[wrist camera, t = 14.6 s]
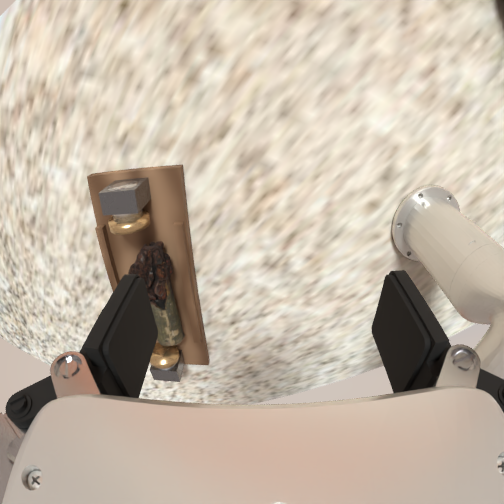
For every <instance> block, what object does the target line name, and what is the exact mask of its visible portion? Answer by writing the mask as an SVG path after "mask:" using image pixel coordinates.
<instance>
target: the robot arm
mask: <svg viewBox="0 0 504 504" xmlns="http://www.w3.org/2000/svg"><path fill="white" fill-rule="evenodd" d="M392 235H393V240H394V243H395V245H396V247H397V248H398V250H399V251H400V252H401V253H402V255H404V256H405V257H406V258H408V259H410V260H414V261H420V262H421V263H422V264H423V266H424V267H425V268H426V270H427V271H428V272H429V273H430V275H431V276H432V277H433V279H434V280H435V281H436V283H437V284H438V285H439V287H440V288H441V289H442V291H443V292H444V294H445V295H446V296H447V298H448V299H449V301H450V302H451V303H452V305H453V306H454V308H455V309H456V310H457V312H458V313H459V314H460V315H461V316H462V317H463V318H465V319H466V320H468V321H470V322H473V323H478V324H491V325H490V327H489V329H488V331H487V332H486V334H485V335H484V336H483V337H482V339H481V341H480V342H479V343H478V344H477V345H476V346H475V348H474V349H472V348H470V347H468V346H465V345H455V346H452V347H451V345H450V343H449V339H448V338H447V336H446V334H445V332H444V331H443V329H442V327H441V326H440V324H439V322H438V321H437V319H436V317H435V316H434V314H433V313H432V311H431V309H430V308H429V306H428V305H427V303H426V301H425V300H424V298H423V297H422V295H421V294H420V292H419V291H418V289H417V288H416V286H415V285H414V283H413V282H412V280H411V279H410V277H409V276H408V274H407V273H406V272H405V271H391V272H390V273H389V275H386V277H385V280H384V284H383V288H382V292H381V296H380V300H379V303H378V307H377V311H376V314H375V318H374V321H373V325H372V334H373V337H374V340H375V342H376V345H377V348H378V350H379V353H380V356H381V358H382V361H383V364H384V367H385V369H386V372H387V375H388V378H389V380H390V383H391V386H392V389H393V392H394V393H393V394H386V395H380V396H372V397H366V398H356V399H348V400H338V401H328V402H314V403H298V404H271V405H228V404H201V403H185V402H172V401H161V400H150V399H140V398H139V395H140V391H141V388H142V385H143V381H144V378H145V375H146V372H147V369H148V365H149V362H150V359H151V356H152V353H153V350H154V347H155V344H156V341H157V337H158V329H157V325H156V322H155V318H154V315H153V311H152V307H151V304H150V300H149V296H148V292H147V288H146V284H145V281H144V279H143V278H140V276H139V275H138V274H125V275H124V276H123V277H122V279H121V280H120V282H119V284H118V285H117V287H116V289H115V290H114V292H113V294H112V295H111V297H110V299H109V301H108V302H107V304H106V306H105V307H104V309H103V310H102V312H101V314H100V315H99V317H98V319H97V321H96V323H95V324H94V326H93V328H92V330H91V332H90V333H89V335H88V337H87V339H86V341H85V343H84V345H83V347H82V349H81V350H80V352H75V351H69V352H65V353H63V354H61V355H59V356H58V357H57V358H56V359H55V360H54V361H53V363H52V364H51V368H50V374H51V376H49V377H47V378H45V379H43V380H41V381H39V382H37V383H35V384H33V385H31V386H29V387H27V388H25V389H23V390H21V391H19V392H17V393H15V394H14V395H12V396H11V397H10V399H9V400H8V402H7V405H6V413H5V414H4V415H3V414H2V413H0V504H504V248H503V247H502V246H501V245H499V244H498V243H497V242H496V241H495V240H494V239H493V238H491V237H490V236H489V235H488V234H487V233H486V232H484V231H483V230H482V229H481V228H480V227H478V226H477V224H476V221H474V220H470V219H468V218H467V217H466V216H465V215H463V214H462V213H461V212H460V209H459V205H458V202H457V200H456V199H455V197H454V196H453V195H452V194H451V193H450V192H449V191H448V190H446V189H444V188H443V187H440V186H435V185H428V186H423V187H421V188H418V189H416V190H415V191H413V192H411V193H410V194H409V195H408V196H407V197H406V198H405V199H404V200H403V201H402V203H401V204H400V206H399V207H398V209H397V211H396V214H395V216H394V220H393V224H392Z"/></svg>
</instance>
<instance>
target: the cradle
mask: <svg viewBox="0 0 504 504" xmlns="http://www.w3.org/2000/svg"><path fill="white" fill-rule="evenodd" d="M146 177H148V179H149V186H150V193H151V199H150V201H149V202H148V203H147V204H146V205H145V206H144V207H143V209H144V210H147V211H148V212H149V217H150V224H149V226H147V227H146V228H145V229H143V230H141V231H138V232H136V233H132V234H127V235H116V234H113V233H111V232H110V228H109V224H108V220H109V219H110V218H111V217H112V216H113V215H103V213H102V208H101V203H100V198H99V192H101V191H102V190H103V189H104V188H106V187H107V186H108V185H110V184H111V183H112V182H114V181H115V180H124V179H135V178H146ZM87 179H88V184H89V189H90V195H91V200H92V204H93V209H94V214H95V218H96V222H97V227H96V228H95V229H96V233H97V237H98V241H99V245H100V249H101V252H102V256H103V260H104V263H105V267H106V270H107V274H108V277H109V280H110V283H111V287H112V290H113V292H114V290H115V289H116V287H117V285H118V284H119V282H120V280H121V279H122V277H123V276H124V275H125V274H128V272H129V269H130V266H131V265H132V264H134V263H135V261H136V258H137V255H138V253H139V251H140V249H141V248H142V247H143V246H144V244H146V245H147V246H149V244H150V242H155V243H156V242H157V241H162V242H163V243H164V247H163V251H164V253H167V254H168V255H169V256H170V258H171V259H170V261H171V262H172V268H173V273H172V274H171V278H170V279H171V284H172V289H173V293H174V298H175V302H176V307H177V310H178V314H179V317H180V321H181V325H182V328H183V331H184V335H185V337H184V338H183V340H182V341H181V342H180V343H179V344H177V345H176V346H177V348H178V350H182V353H183V357H184V364H196V365H208V364H209V356H208V350H207V344H206V339H205V333H204V327H203V321H202V315H201V308H200V302H199V295H198V289H197V282H196V275H195V268H194V260H193V253H192V245H191V237H190V229H189V221H188V212H187V203H186V193H185V183H184V173H183V165H172V166H160V167H148V168H138V169H128V170H119V171H111V172H102V173H95V174H91V175H89V176H88V177H87ZM156 343H158V341H156Z"/></svg>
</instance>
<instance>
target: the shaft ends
mask: <svg viewBox="0 0 504 504" xmlns="http://www.w3.org/2000/svg"><path fill="white" fill-rule="evenodd" d="M99 198H100V203H101V208H102V213H103V215H113V216H112V217H111V218H110V219H109V220H108V224H109V228H110V232H111V233H113V234H116V235H127V234H132V233H136V232H138V231H141V230H143V229H145V228H146V227H147V226H149V224H150V217H149V212H148V211H147V210H144V209H143V207H144V206H145V205H146V204H147V203H148V202H149V201H150V199H151V193H150V186H149V179H148V177H146V178H135V179H124V180H115V181H114V182H112V183H111V184H110V185H108V186H107V187H106V188H104V189H103V190H102V191H101V192H99ZM150 363H151V368H150V371H151V373H152V376H153V378H154V380H163V381H176V382H180V379H181V375H182V370H183V366H184V357H183V353H182V350H178V348H177V346H176V345H173V346H162V345H161V344H160V343H159V342H158V343H156V344H155V347H154V350H153V353H152V356H151V359H150Z"/></svg>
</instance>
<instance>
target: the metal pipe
mask: <svg viewBox="0 0 504 504" xmlns="http://www.w3.org/2000/svg"><path fill="white" fill-rule="evenodd" d="M163 247H164V243H163V242H162V241H157V242H156V243H155V242H150V244H149V246H147V245H146V244H144V246H143V247H142V248H141V249H140V251H139V253H138V255H137V258H136V261H135V263H134V264H132V265H131V266H130V269H129V272H128V274H138V275H139V276H140V278H143V279H144V281H145V284H146V288H147V292H148V296H149V300H150V304H151V307H152V311H153V315H154V318H155V322H156V325H157V329H158V337H157V341H158V342H159V343H160V344H161V345H162V346H173V345H177V344H179V343H180V342H181V341H182V340H183V338H184V337H185V335H184V331H183V328H182V325H181V321H180V317H179V314H178V310H177V307H176V302H175V298H174V293H173V289H172V284H171V279H170V278H171V274H172V273H173V268H172V262H171V261H170V259H171V258H170V256H169V255H168V254H167V253H164V251H163Z"/></svg>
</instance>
